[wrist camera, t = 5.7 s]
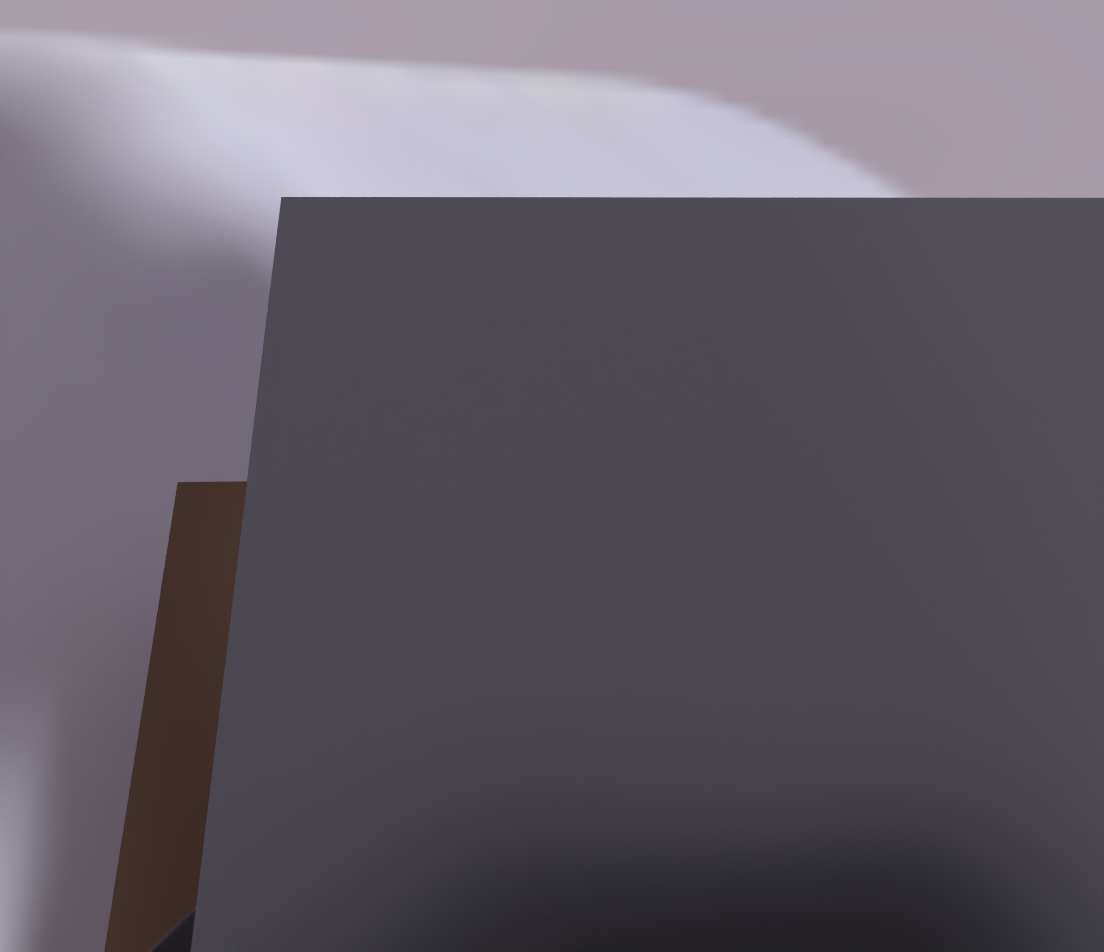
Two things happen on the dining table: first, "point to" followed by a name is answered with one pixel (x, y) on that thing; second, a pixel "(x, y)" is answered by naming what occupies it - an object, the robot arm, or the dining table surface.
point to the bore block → (178, 719)
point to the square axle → (669, 581)
